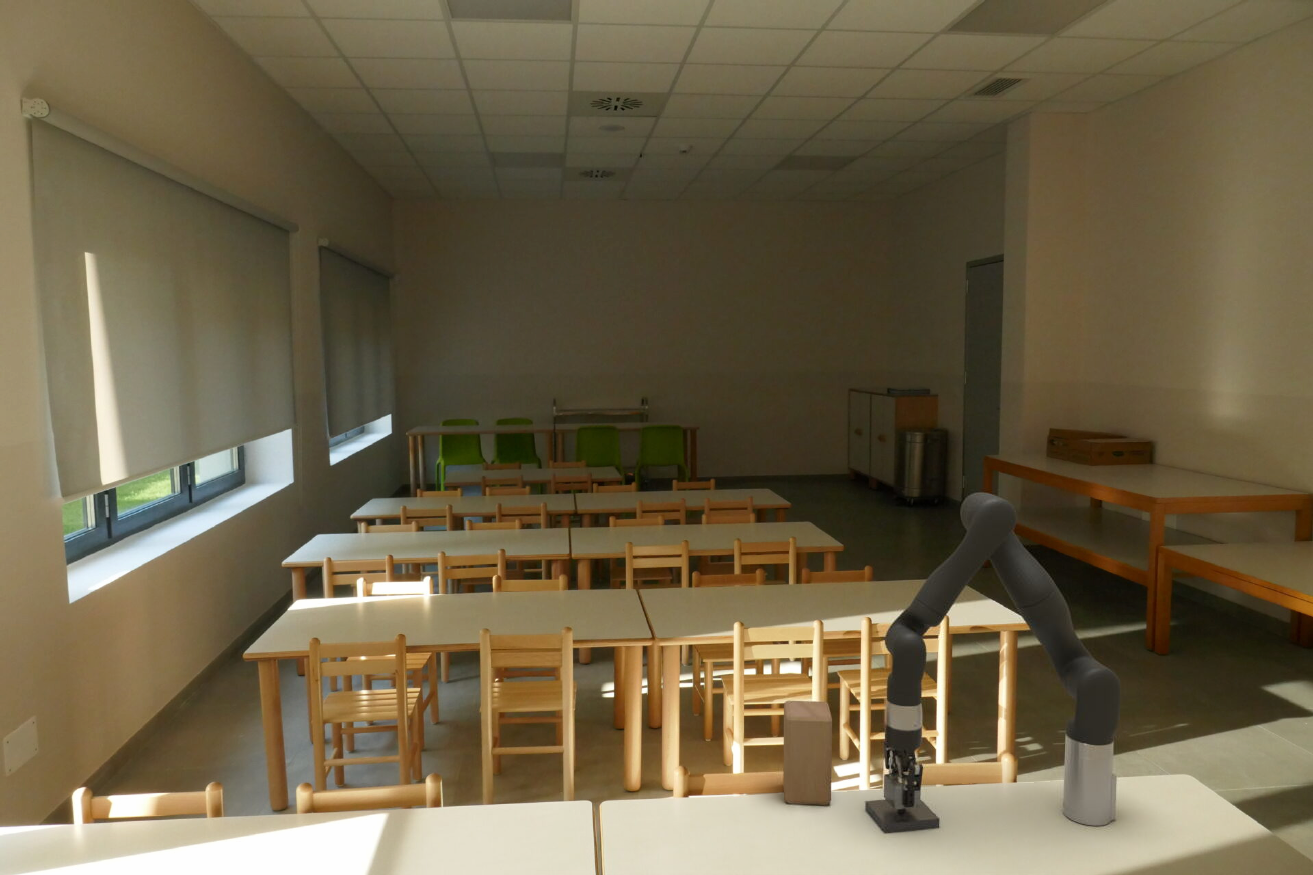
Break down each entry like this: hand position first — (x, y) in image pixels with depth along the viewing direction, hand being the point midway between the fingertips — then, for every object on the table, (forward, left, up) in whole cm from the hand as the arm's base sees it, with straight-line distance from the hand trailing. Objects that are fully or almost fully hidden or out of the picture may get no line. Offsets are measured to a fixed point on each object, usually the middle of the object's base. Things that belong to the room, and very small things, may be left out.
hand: (901, 799), depth 196 cm
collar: (0, 0, -1) cm, 1 cm away
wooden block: (+16, -14, -4) cm, 22 cm away
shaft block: (0, 0, -4) cm, 4 cm away
